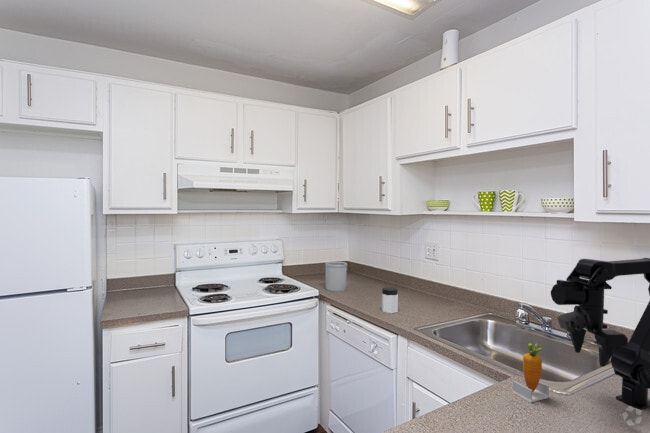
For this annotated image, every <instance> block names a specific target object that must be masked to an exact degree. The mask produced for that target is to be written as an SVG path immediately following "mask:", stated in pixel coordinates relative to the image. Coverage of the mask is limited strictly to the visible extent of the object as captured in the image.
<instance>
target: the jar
mask: <svg viewBox="0 0 650 433" xmlns="http://www.w3.org/2000/svg"><path fill="white" fill-rule="evenodd" d="M398 293H399V292H398V288H396V287H393V286H391V287H390V286H388V287H387V286H385V287H382V289H381V311H382V312H383V313H387V314H396V313H398V311H399V294H398Z"/></svg>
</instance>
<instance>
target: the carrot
mask: <svg viewBox="0 0 650 433" xmlns="http://www.w3.org/2000/svg"><path fill="white" fill-rule="evenodd" d="M538 345H539V343H538V342H537V343H535V345H534V347H533V344H532V343H527V347H528V351H529V352H527V353H524V354H523V356H522V371H523V377H524V381H525V385H526V387H528V388H529V389H531V390H532V392H534V390H535V389H536V388H537V386H538V383H539V381H540V380H541V376H542V368H543V367H542V366H543V365H542V364H543V361H542V358H541V356H539V354H537V353H538V352H540V351H543V349H542V347H538Z"/></svg>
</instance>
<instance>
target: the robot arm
mask: <svg viewBox="0 0 650 433" xmlns="http://www.w3.org/2000/svg"><path fill="white" fill-rule="evenodd" d="M633 275H643V278H644V279H645V280H646V281H647V282H648V283H649V286H648V288H647V289H648V290H647V291H648V295H649V296H650V257H642V258H636V259H623V260H609V261H608V260H607V261H606V260H598V259H591V258H580V259H579V260H578V262H577V263H576V265H575V266H574V268H573V269H572V270H571V272H570V273H569V274H568V275H567V278H566V279H565V280H563V279H557V280H556V284H554V285H553V286H552V288H551V290H550V296H551V299H552V301H553V303H554V304H556V305H557V306H572V305H573V306H574V307H573V311H570V312H569V311H568V312H566V313H564V314H561V315H558V316H557V317H556V318H557V322H558V325H559V328H560V329H562V330H565V331H566V332H567V333H568V335H569V337H570V340H571V342H572V346H573V350H574V352H575V353H577V354H579V353H581V350H582V347H583V345H584V340H585V337H586V333H587V332H589V333H591V334H593V335H594V339H595V341H593V342H594V344H595V345H596V346H597V347H598V362H599V366H600V367H605V366H606V365H607V364H608V362H609V361H610V364H611V367H612V369H613V372H614V374H615V376H618V377H621V379H622V380H621V394H619V395H616V396H615V399H616V400H619V401H620V402H623V403H625V404H628V405H629V406H632V407H635V408H637V409H640V410H643V409H647V408H649V407H650V400H649V389H650V300H649V301H648V303H647V305H646V307H645V309H644V311H643V312H642V315H641V317H640V318H639V321H638V322H637V325H636V326H635V328H634V330H633V333H632V334H631V337H630V339H629V338H628V336H626V334H624V333H622V332H619V331H617V330H614V329H608V324H605V323H604V315H608V314H609V312H608V311H609V310H608V309H606V308H605V306H604V305H605V290H612V289H613V288H612V287H613V286H611V285H610V284H609V283H608V282H607V281H611V280H613V279H615V278H616V277H619V276H620V277H621V276H633ZM603 329H604V330H603Z"/></svg>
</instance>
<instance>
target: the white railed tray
mask: <svg viewBox="0 0 650 433" xmlns="http://www.w3.org/2000/svg"><path fill="white" fill-rule="evenodd" d="M512 393H513V394H514V395H515V396H518V397H520V398H522V399H523V400H525V401H527V402H529V403H535V402H538V401H541V400H545V399H549V395H550V394H549V393H550V385H549V384H545V383H543V382H542V381H540V380H539V383H538V386H537V388H536V389H535V390H534V392H532V390H531V389H529V388H528V387H527V386H525V385H523V384H521V383H520V382H518V381H516V380H512Z"/></svg>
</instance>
